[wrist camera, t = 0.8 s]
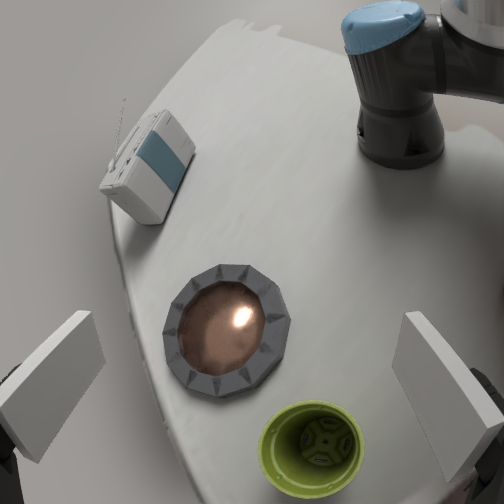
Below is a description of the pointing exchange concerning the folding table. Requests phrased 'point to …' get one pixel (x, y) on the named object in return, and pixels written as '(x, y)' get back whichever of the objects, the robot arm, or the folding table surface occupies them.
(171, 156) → the stereo radio cassette player
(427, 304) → the folding table surface
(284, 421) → the plant pot
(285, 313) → the steel ring
